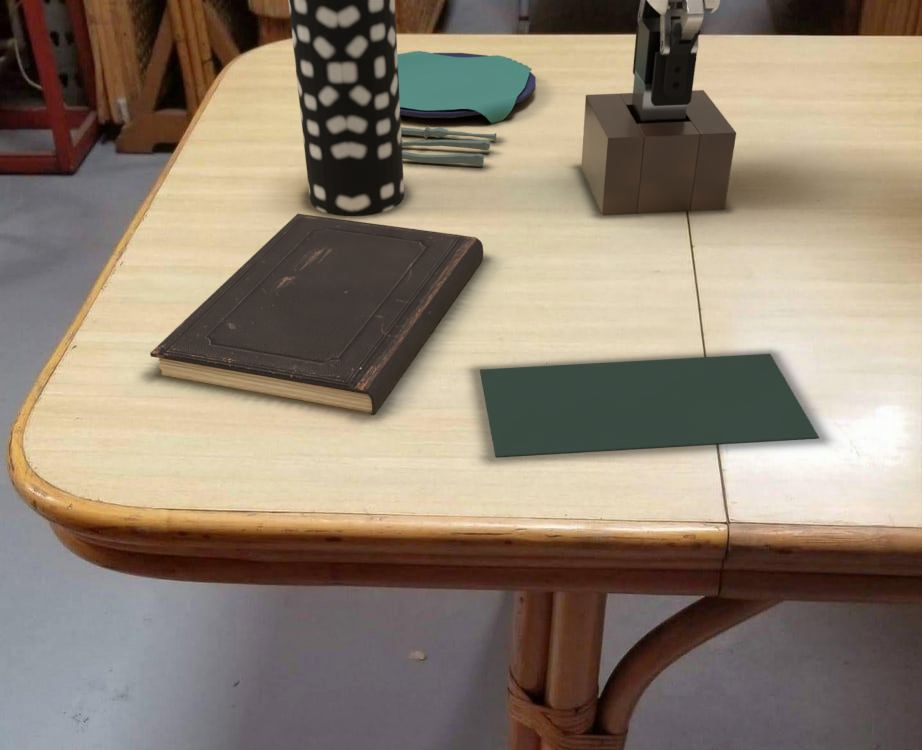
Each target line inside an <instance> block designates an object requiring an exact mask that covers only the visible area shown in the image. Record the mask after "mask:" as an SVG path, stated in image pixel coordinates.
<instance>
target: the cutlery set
mask: <svg viewBox="0 0 922 750" xmlns="http://www.w3.org/2000/svg"><path fill="white" fill-rule="evenodd" d="M397 58H398V78H399V98H400V116H404V117H405V116H407V117H413V118H421V119H452V118H453V119H454V118H463V117H472V116H479V115H482V116H484V117H485V118H486V119H487V120H488V122H489V123H490V124H496V123H500V122H502V121H503V120H504V119H506V118H507V117H508V116H509V115H510V113H511V112H512V110H513V109H514V106H515V105H516V104H518V103H521V102H522V101H525V100H526V99H528V97H529V96H530V95H531V94H532V93H533V92H534V91H536V87H537V86H536V85H537V84H536V83H537V82H536V80H537V79H536V76H535V75H534V73H532V72H531V71H532V69H533V68H532V67H529V66H528V65H527V64H524V63H522V62H518V61H517V60H515V59H512V58H511V57H506V56H504V55H486V54H476V53H475V54H474V53H467V52H466V53H465V52H430V51H429V52H428V51H423V50H415V51H413V50H412V51H409V52H403V53H397ZM401 135H412V136H413V135H415V136H423V137H424V140H410V141H403V140H402V147H447V148H448V147H449V148H463V149H472V150H479V151H489V150H490V148H491V140H493V141H494V143H496V142H497V132H495V133H472V132H465V131H454V130H448V129H446V128H443V127H441V126H437V127H435V128H430V127H429V125H428V124H427V125H426V127H425V129H421V128H413V127H404V126H401ZM431 136H433V137H435V138H436V139H434V140H427V139H428V137H431ZM446 136H457V137H474V138H480V139H481V138H482V139H481V140H479V139H477V140H475V139H473V140H471V139H438V138H442V137H446ZM484 139H485V140H484ZM484 158H485V154H483V153H451V154H449V153H448V154H426V153H425V154H422V153H415V152H409V151H402V160H407V161H412V162H418V163H424V164H425V163H426V164H443V165H445V164H446V165H448V164H449V165H450V164H463V165H473V166H477V167H480V166H483V165H484V162H485V159H484Z"/></svg>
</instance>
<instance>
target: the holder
mask: <svg viewBox="0 0 922 750" xmlns="http://www.w3.org/2000/svg"><path fill="white" fill-rule="evenodd" d="M632 97H633V92H625V93H624V92H623V93H621V92H620V93H599V94H597V93H596V94H585V103H584V117H583V134H582V148H581V149H582V151H581V167H580V168H581V171H582V173H583V175H584V178H585V180H586V182H587V184H588V187H589V189H590V191H591V194H592V197H593V198H594V201H595V203H596V206H597V207H598V210H599V212H600V214H601V216H622V215H623V216H624V215H644V214H662V213H663V214H665V213H685V212H707V211H725V208H726V203H727V196H728V195H727V194H728V190H729V185H730V176H731V170H732V164H733V159H734V158H733V157H734V151H735V144H736V139H737V138H736V137H737V131H736V130H735V129H734V128H733V125H731V124H730V123H729V121H728V120H727V118H726V117H725V116H724V115H723V113H722V112H721V111H720V110H719V108H718V107H717V106H716V104H715V103H714V101H713V100H712V99H711V98H710V96H709V95H708V94H707V92H706V91H705V90H704V89H697V90H696V89H694V90H693V89H692V96H691V101H690V103H689V104H687V109H686V118H685V122H668V123H645V124H637V123H636V122H635V120H634V118H633V117H632V115H631V109H632Z"/></svg>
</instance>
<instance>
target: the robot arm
mask: <svg viewBox="0 0 922 750" xmlns="http://www.w3.org/2000/svg"><path fill="white" fill-rule="evenodd" d="M677 3H681V8H677ZM720 4H721V0H640V2H639V7H638V12H637V24H638V25H637V26H636V31H635V43H634V53H633V65H632V74H633V76H634V75H635V64H636V53H637V42H638V31H639V20H640V19H644V18H660V52H655V62H654V72H653V82H652V92H651V102H652V104H653V105H654V106H670V105H687V104H689V103H690V101H691V96H692V90H693V89H694V88H693V86H694V81H695V71H696V65H697V64H696V63H697V55H698V50H699V36H700V35H701V26H702V24H703V21H704V16H705V12H706V13H707V14H713V13H715V12H716V11H717V9H718V8H719V7H720ZM679 19H680V20H681V22H680V23H676V24H675V26H674V28H673V30H672V33H671V20H679Z"/></svg>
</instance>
